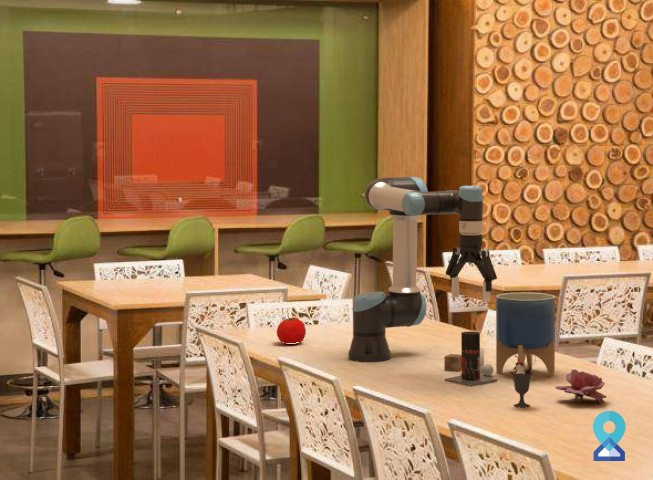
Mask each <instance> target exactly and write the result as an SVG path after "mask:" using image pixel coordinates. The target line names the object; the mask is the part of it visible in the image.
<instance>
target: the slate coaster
mask: <svg viewBox="0 0 653 480" xmlns="http://www.w3.org/2000/svg"><path fill="white" fill-rule="evenodd" d="M444 382H448V383H451V384H452V383H453V384H457V385H461V386H462V385H463V386H467V387H476V386H482V385H486V384H490V383H496V382H498V378H494V377H491V376H484V375H480V379H479V380H463V379H462V374H461V375H457V376H456V375H455V376H451V377H446V378H444Z"/></svg>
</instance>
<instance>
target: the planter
mask: <svg viewBox="0 0 653 480" xmlns="http://www.w3.org/2000/svg"><path fill="white" fill-rule="evenodd" d="M495 296H496V297H495V300H496V301H495V302H496V303H495V311H496V312H495V313H496V315H495V318H496V319H495V321H496V322H495V328H496V330H495V334H496V335H495V336H496V337H495V339H496V345H495V346H496V350H495V353H496V356H495V359H496V360H495V361H496V363H495V365H496V367H495V369H496V372H495V373H496V374H498V375H499V374H500V375H503V372H504V367H505V364H506V363H507V361H508V360H509V359H510V358H511V357H514V356H516V355H517V357H518V358H519V359H518V360H517V361H518V362H519V360H520V361H521V362H522V363H524V364H525V362H526V365H527V366H528V368H529V367H531V371H532V370H533V356H534V357H536V358H538V359H540V360H541V361H542V362H543V364H544V365H545V368H546V370H547V375H548V377H551V378H552V377H555V376H556V375H555V374H556V371H555V369H556V368H555V364H556V363H555V362H556V357H555V356H556V355H555V354H556V352H555V351H556V350H555V349H556V345H555V344H556V341H555V340H556V296H555V295H553V294H551V293H544V292H543V293H542V292H530V291H529V292H527V291H526V292H525V291H523V292H520V291H519V292H506V293H499V294H496V295H495ZM525 360H526V361H525Z"/></svg>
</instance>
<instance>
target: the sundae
mask: <svg viewBox="0 0 653 480" xmlns="http://www.w3.org/2000/svg"><path fill="white" fill-rule="evenodd" d="M514 357H515V358H516V360H517V362H515V366H514V367H513V368H512V371H510V374H511V375H512V378H513V384H514V390H515V392H516V393H517V394H518V395H519V401H518V403H515V404H513V407H514V406H515V407H514V408H518V407H520V409H523V408H525V409H526V407H527V408H530V407H531V405H530V404H528V403H526V402H525V399H524V396H525V394H527V393H528V392H529V390H530V384H531V377H532V375H533V374H534V371H532V370H531V367H529V368H528V366H527V363H525V362H524V363H522V362H521V361H520V360H519V362H518V359H519V358H518V354H515V355H514Z"/></svg>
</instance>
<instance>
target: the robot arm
mask: <svg viewBox="0 0 653 480" xmlns="http://www.w3.org/2000/svg"><path fill="white" fill-rule="evenodd" d="M458 189H459V190H456V189H454V190H453V189H449V190H441V191H440V190H439V191H428V188H427V186H426V184H425V182H424V180H423V179H422V178H419V177H418V176H400V177H399V176H395V177H379V178H375V179H374V180H372V181H370V182H369V183H368V184H367V185H366V187H365V189H364V192H363V198H364V202H365V203H366V205H367V206H368V207H370V208H371V209H373V210H377V211H389V214H388V215H389V216H390V217H391V218H392V219H393V223H392V224H393V227H392V228H393V229H392V231H393V234H392V236H393V237H392V238H393V240H392V285H391V286H389V288H388V290H387V295H386V293H385V292H383V291H368V292H364V293H360V294H357V295H356V296H355V297H354V298H353V300H352V308H351V309H352V340H351V344H350V347H349V350H348V351H347V355H348V359H349V358H350V359H349V360H351V359H352V361H355V360H358V361H357V362H367V363H368V362H371V363H372V362H383V361H387V360H390V359H391V356H392V355H391V354H392V353H391V350H390V348H389V343H388V341H387V337H386V329H387V328H388V329H391V328H400V327H401V328H402V327H408V328H409V327H413V326H418V325H420V324H421V323H422V322H423V321H424V320H425V316H426V314H427V301H426V297H425V295H424V294H423V293H421V289H420V288H419V286H417V272H418V271H417V269H418V268H417V267H418V266H417V262H418V261H417V260H418V258H417V257H418V220H419V219H420V218H421V216H427V215H455V214H456V215H458V226H459V227H458V232H459V233H460V234H459V236H458V245H459V246H458V247H453V248H452V255H451V257H450V259H449V262H448V264H447V267H446V270H445V275H446V276H448V277H450V288H451V298H452V299H454V298H459V297H460V277H459V274H460V273H461V271H462V269H463V268H464V267H465V265H466V264H468V263H470V264H474V265H475V267H476V268H477V270H478V271H479V273H480V275H481V277H482V278H483V281H482V302H483V303H487V302H488V303H489V302H491V292H492V290H493V289H492V287H493V285H492V283H493V281H495V280H497V279H498V275H497V273H496V271H495V268H494V265H493V261H492V260H491V256H490V255H491V254H490V250H489V249H485V250H482V246H483V241H484V240H483V239H484V237H483V235H482V234H483V232H484V230H483V229H484V227H483V225H484V224H483V215H484V211H483V208H484V206H483V205H484V203H483V202H484V201H483V200H484V197H483V188H482V186H480V185H462V186H460V187H459V188H458Z"/></svg>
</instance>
